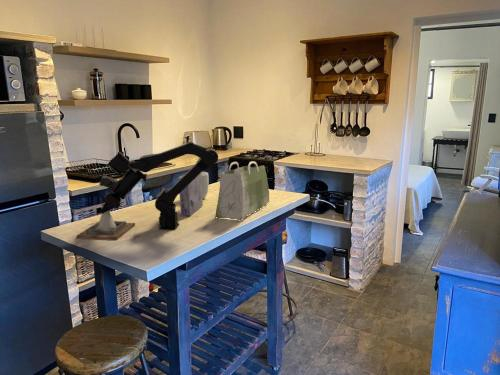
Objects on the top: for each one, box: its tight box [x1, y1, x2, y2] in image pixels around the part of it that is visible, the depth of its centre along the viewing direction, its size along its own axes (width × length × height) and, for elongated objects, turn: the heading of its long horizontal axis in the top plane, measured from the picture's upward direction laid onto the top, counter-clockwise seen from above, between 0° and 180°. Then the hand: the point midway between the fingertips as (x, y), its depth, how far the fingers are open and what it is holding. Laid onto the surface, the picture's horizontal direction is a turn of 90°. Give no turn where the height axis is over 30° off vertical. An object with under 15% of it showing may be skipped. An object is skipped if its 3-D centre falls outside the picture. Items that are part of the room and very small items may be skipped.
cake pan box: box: [177, 173, 204, 217], centre depth 171 cm, size 19×5×18 cm, turn 168°
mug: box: [201, 171, 210, 200], centre depth 195 cm, size 15×11×13 cm
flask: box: [98, 202, 116, 230], centre depth 145 cm, size 7×7×10 cm
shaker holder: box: [76, 220, 136, 240], centre depth 146 cm, size 16×16×2 cm
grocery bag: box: [214, 160, 270, 221], centre depth 170 cm, size 32×14×23 cm, turn 155°
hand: (101, 211), depth 144 cm, fingers closed on flask, 3 cm apart
